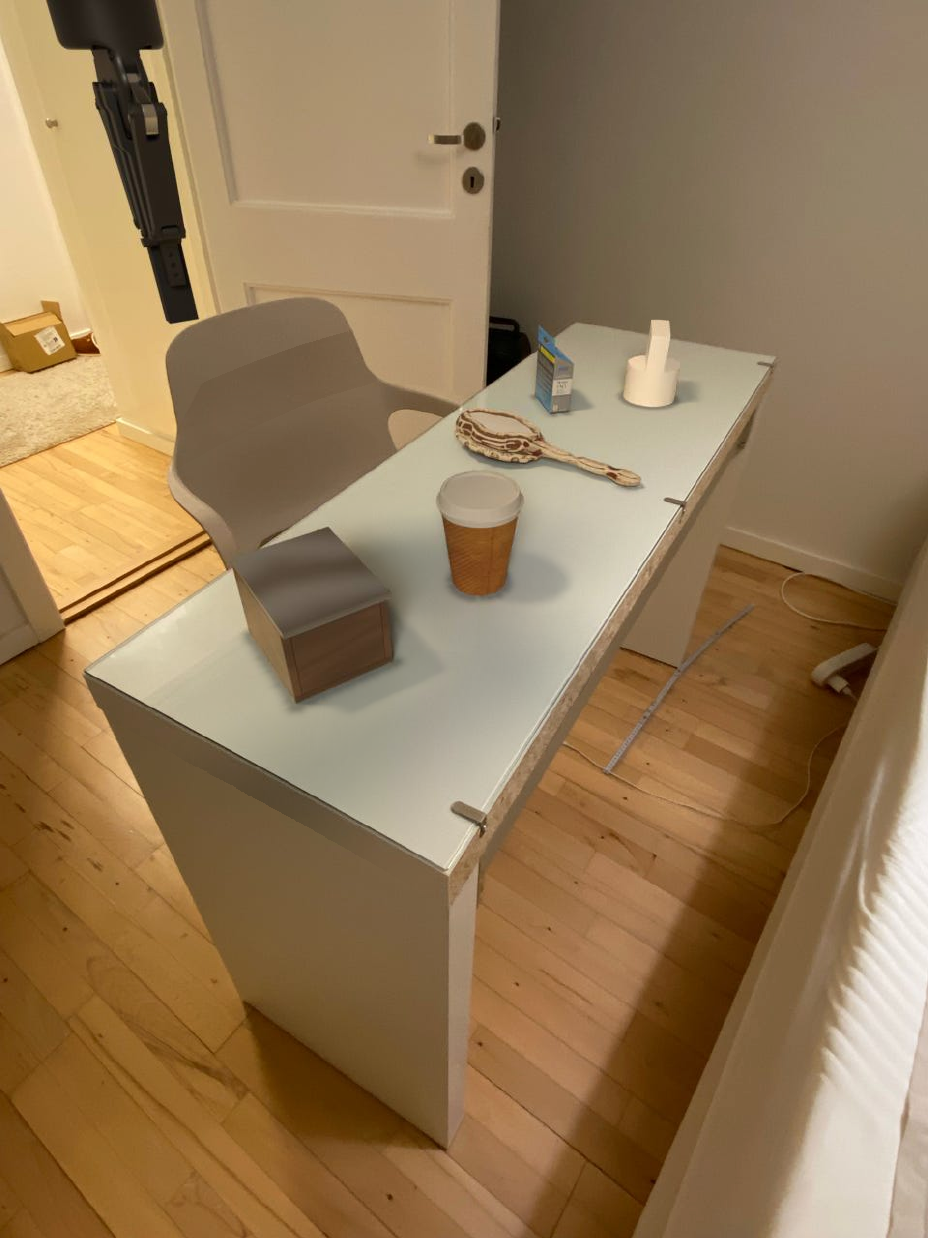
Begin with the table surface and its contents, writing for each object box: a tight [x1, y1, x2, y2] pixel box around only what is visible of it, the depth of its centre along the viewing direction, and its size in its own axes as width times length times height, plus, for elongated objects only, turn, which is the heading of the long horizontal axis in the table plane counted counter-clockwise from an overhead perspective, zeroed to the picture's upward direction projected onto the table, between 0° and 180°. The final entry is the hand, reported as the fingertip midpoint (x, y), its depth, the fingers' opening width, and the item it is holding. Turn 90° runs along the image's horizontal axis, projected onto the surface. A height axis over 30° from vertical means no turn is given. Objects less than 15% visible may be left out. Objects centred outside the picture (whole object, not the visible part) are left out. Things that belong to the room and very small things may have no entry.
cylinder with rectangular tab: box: [622, 319, 682, 408], centre depth 119 cm, size 9×9×12 cm
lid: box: [229, 526, 392, 640], centre depth 65 cm, size 14×11×1 cm
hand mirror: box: [453, 406, 642, 487], centre depth 101 cm, size 11×6×30 cm
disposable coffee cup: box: [435, 469, 525, 596], centre depth 77 cm, size 10×10×12 cm
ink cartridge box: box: [534, 324, 575, 414], centre depth 117 cm, size 9×4×12 cm, turn 13°
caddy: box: [231, 565, 394, 704], centre depth 69 cm, size 13×11×9 cm
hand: (182, 319), depth 65 cm, fingers closed
